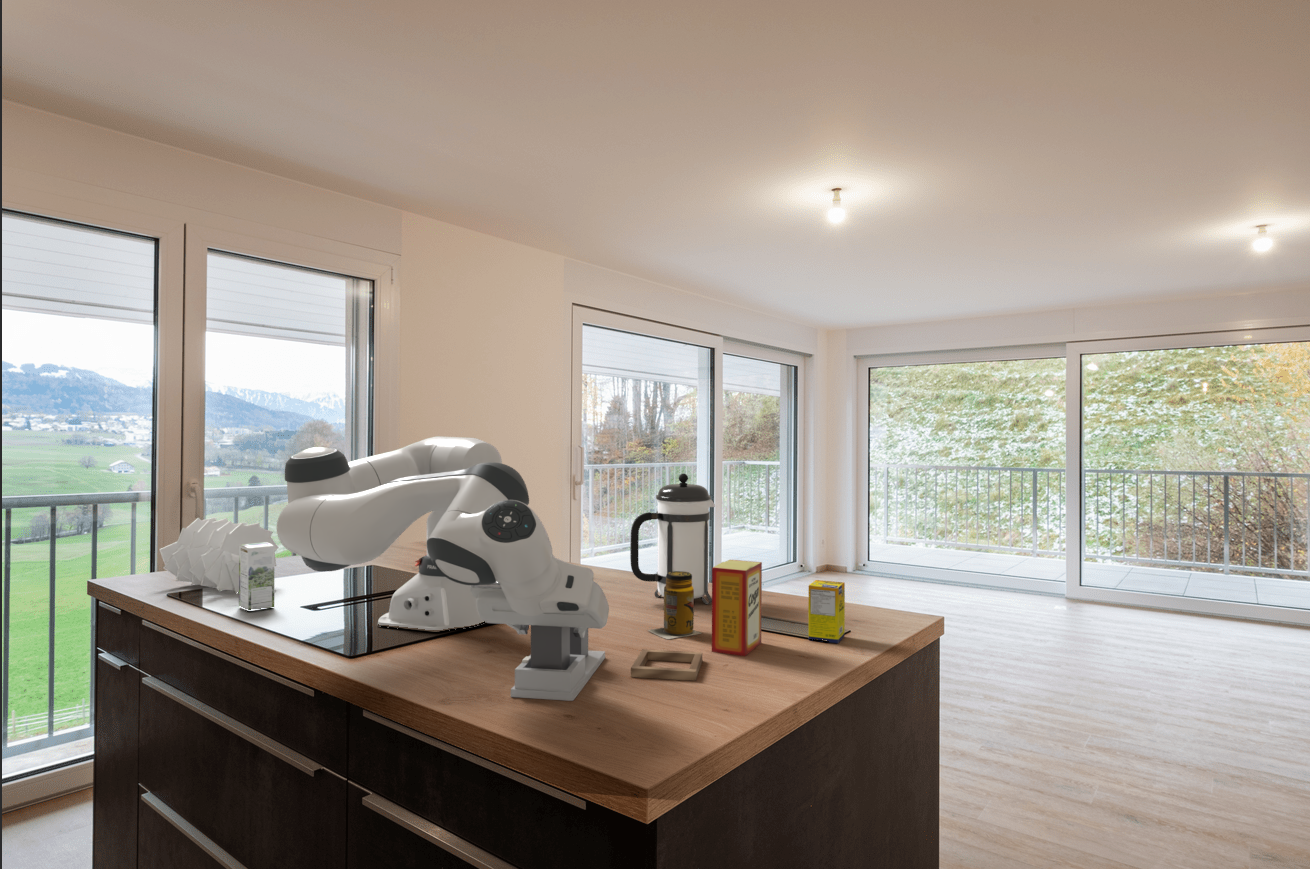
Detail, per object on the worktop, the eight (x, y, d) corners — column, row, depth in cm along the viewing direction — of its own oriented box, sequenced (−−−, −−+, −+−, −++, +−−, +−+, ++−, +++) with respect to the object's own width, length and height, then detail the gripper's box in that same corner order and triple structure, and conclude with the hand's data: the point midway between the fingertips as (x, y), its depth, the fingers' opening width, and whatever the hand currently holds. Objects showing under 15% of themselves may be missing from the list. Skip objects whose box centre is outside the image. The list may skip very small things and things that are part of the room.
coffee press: (670, 590, 201) (671, 470, 201) (726, 598, 192) (727, 473, 191) (628, 603, 187) (628, 474, 186) (685, 613, 178) (686, 477, 177)
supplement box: (844, 636, 160) (845, 581, 160) (838, 644, 155) (838, 587, 154) (815, 632, 163) (815, 579, 162) (807, 640, 157) (808, 584, 157)
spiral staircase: (210, 595, 211) (269, 602, 198) (145, 577, 197) (205, 583, 185) (236, 529, 218) (295, 531, 205) (175, 506, 204) (234, 507, 191)
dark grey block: (530, 685, 127) (530, 608, 127) (540, 674, 132) (540, 601, 132) (561, 687, 126) (561, 610, 126) (569, 676, 131) (569, 602, 131)
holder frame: (630, 676, 135) (630, 668, 135) (642, 657, 146) (642, 649, 146) (695, 680, 133) (695, 671, 133) (702, 660, 144) (702, 652, 144)
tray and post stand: (573, 700, 124) (573, 641, 123) (510, 696, 125) (510, 638, 125) (605, 657, 145) (605, 607, 145) (551, 655, 147) (551, 604, 147)
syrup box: (265, 604, 185) (264, 541, 185) (275, 608, 181) (274, 544, 181) (238, 608, 181) (238, 544, 181) (248, 613, 177) (247, 547, 176)
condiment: (702, 633, 162) (702, 574, 161) (667, 640, 157) (667, 579, 157) (681, 625, 168) (681, 568, 168) (647, 631, 163) (647, 572, 163)
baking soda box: (729, 638, 158) (729, 557, 158) (761, 642, 155) (761, 560, 155) (711, 651, 150) (712, 565, 149) (745, 656, 147) (745, 568, 146)
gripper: (461, 599, 119) (485, 646, 129) (595, 605, 116) (610, 653, 126) (472, 564, 124) (495, 612, 134) (602, 569, 120) (616, 617, 130)
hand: (552, 632), depth 130 cm, fingers open, 8 cm apart
